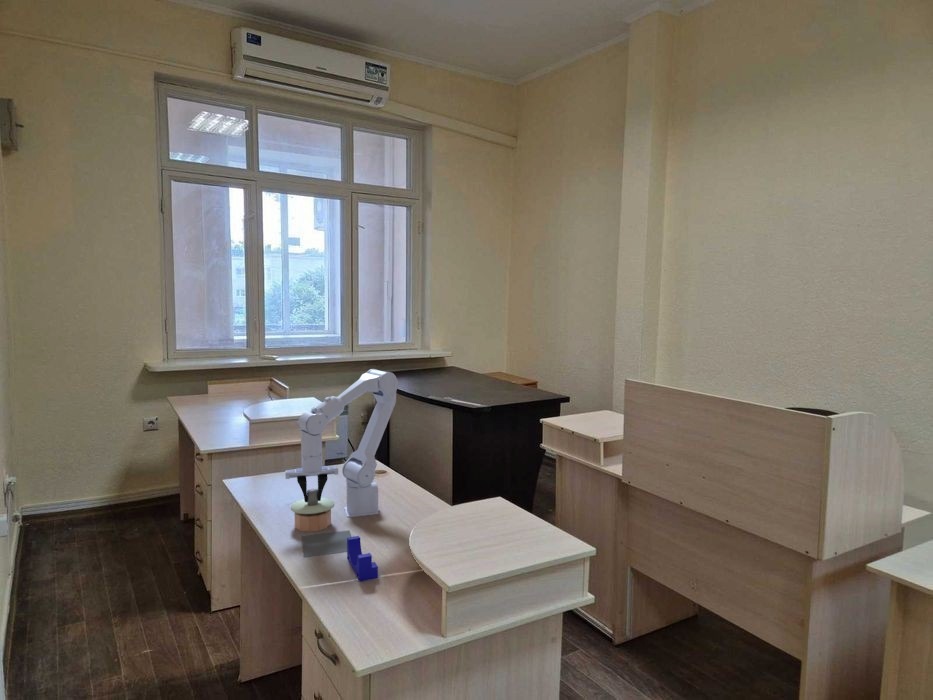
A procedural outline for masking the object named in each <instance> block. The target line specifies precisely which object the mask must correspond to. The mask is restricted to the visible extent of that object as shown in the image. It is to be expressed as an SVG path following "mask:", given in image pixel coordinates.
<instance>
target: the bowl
mask: <svg viewBox="0 0 933 700" xmlns="http://www.w3.org/2000/svg"><path fill="white" fill-rule="evenodd" d="M293 513H294V528H295V529H297V530H298V531H302V532H308V533H309V532H317V531H321V530H325V529H326V528H329V526H330V525H332V509H330V510H328V511H325V512H321V513H315V514H299V513H295V512H293Z"/></svg>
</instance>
